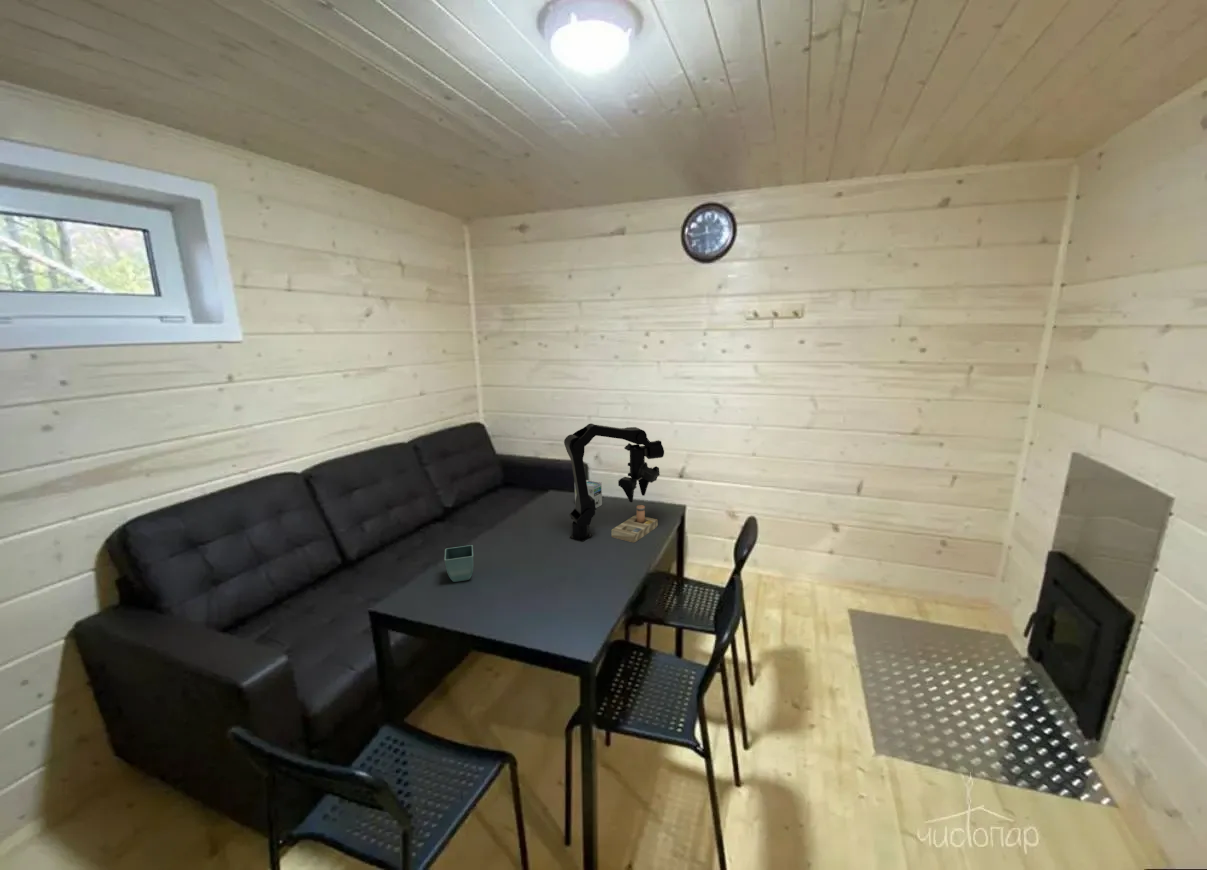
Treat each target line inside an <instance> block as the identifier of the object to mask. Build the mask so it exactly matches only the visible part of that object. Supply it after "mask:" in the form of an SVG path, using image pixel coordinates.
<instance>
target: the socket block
mask: <svg viewBox="0 0 1207 870" xmlns="http://www.w3.org/2000/svg"><path fill="white" fill-rule="evenodd" d="M658 523H659V521H658V519H657V518H651V517H647V516H645V523H644V524H642V523H637V514H635V515H633V516H632V517H629V518H628V519H627V520H624V522H622V523H620V524H618V525H617V526H615V527H613V528H612V529H611V538H614V539H617V540H622V541H625V542H630V543H634V544H635V543H636V542H638V541H639V540H640V539H643V537H646V535H648V534H649V533H651V532H652V531H653V530H655V529H656V528H657V527H658Z"/></svg>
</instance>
